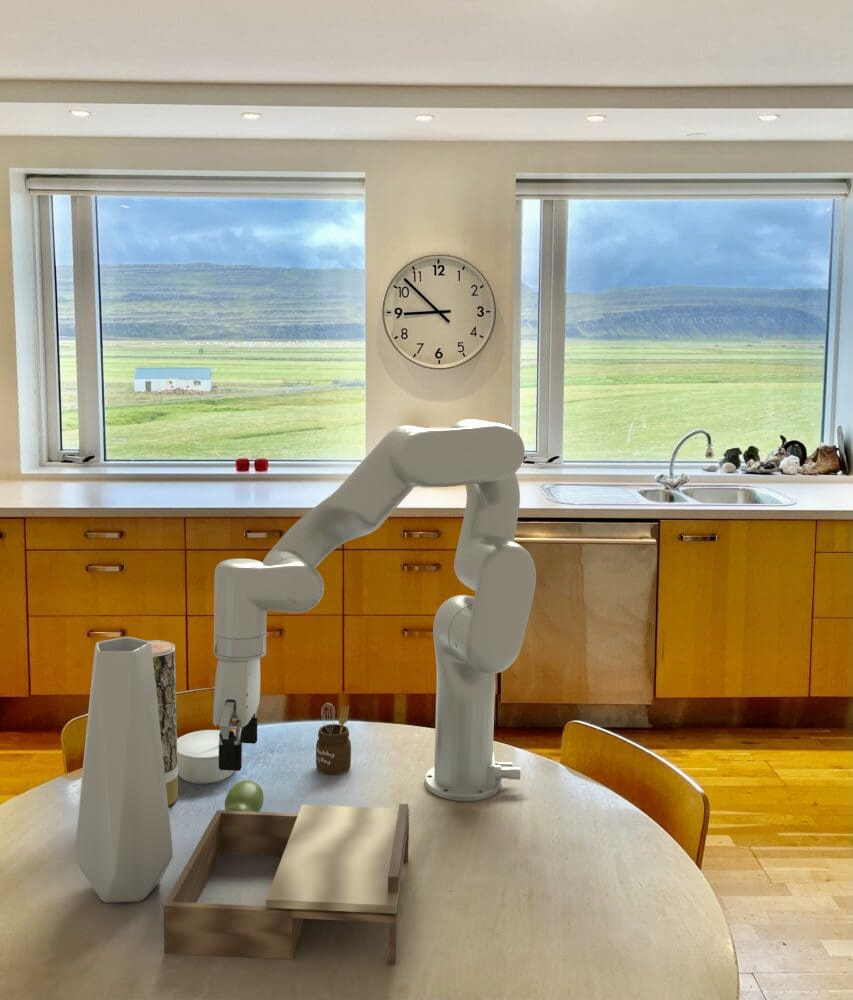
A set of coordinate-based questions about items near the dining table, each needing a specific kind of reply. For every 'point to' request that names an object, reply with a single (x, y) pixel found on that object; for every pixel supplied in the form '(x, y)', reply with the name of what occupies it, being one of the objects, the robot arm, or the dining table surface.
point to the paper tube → (167, 711)
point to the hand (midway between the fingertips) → (238, 755)
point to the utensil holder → (334, 746)
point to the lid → (342, 860)
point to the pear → (244, 797)
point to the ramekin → (200, 757)
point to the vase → (123, 777)
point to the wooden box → (244, 924)
